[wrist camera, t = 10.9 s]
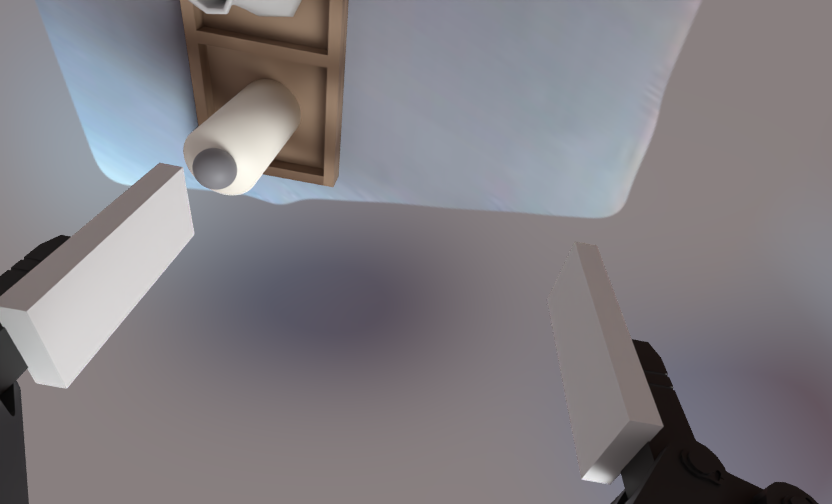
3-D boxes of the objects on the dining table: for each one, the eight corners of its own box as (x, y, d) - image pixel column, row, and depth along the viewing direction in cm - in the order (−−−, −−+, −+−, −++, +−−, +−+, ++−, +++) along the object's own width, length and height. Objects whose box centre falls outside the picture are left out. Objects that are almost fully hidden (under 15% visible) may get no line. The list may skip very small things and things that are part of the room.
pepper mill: (239, 73, 41) (158, 134, 30) (300, 85, 41) (242, 149, 30) (244, 131, 44) (173, 204, 34) (300, 142, 45) (248, 218, 34)
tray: (174, -154, 32) (156, -157, 30) (355, -118, 33) (348, -119, 31) (214, 153, 47) (204, 163, 45) (338, 176, 47) (333, 187, 46)
